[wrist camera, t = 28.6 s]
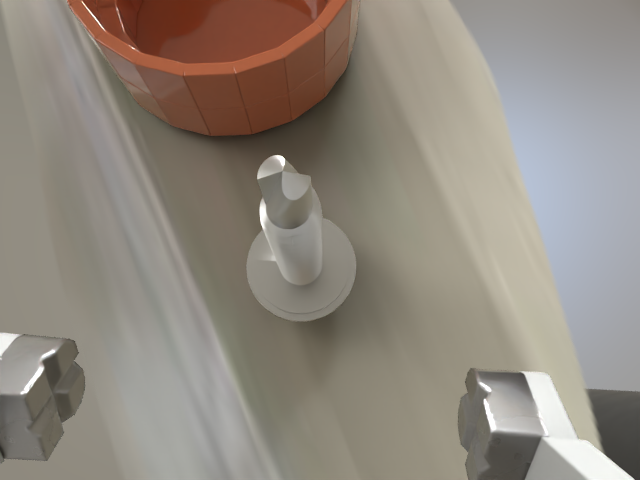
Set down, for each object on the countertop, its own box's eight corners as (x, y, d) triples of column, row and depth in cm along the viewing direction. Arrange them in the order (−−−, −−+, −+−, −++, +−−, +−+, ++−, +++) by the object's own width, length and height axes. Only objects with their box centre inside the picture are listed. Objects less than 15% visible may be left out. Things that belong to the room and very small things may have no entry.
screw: (357, 321, 24) (254, 328, 24) (349, 222, 25) (250, 229, 25) (396, 264, 11) (179, 279, 11) (375, 73, 13) (179, 85, 13)
